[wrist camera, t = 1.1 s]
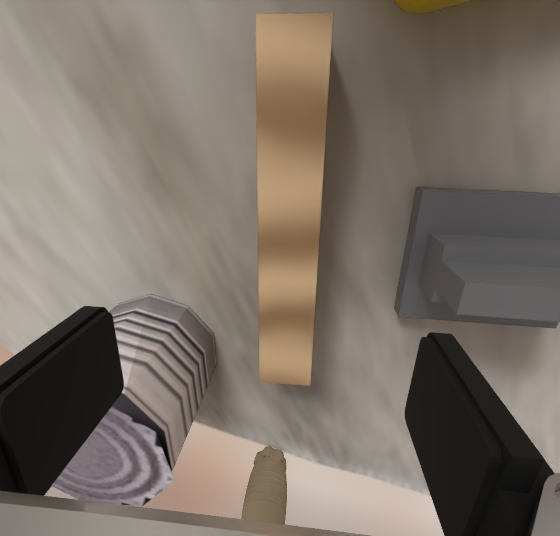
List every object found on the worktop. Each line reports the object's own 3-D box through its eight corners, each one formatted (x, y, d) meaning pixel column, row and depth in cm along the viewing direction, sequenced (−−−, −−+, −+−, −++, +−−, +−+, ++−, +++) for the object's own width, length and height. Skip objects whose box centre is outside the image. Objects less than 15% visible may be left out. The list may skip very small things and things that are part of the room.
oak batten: (267, 40, 22) (255, 13, 17) (328, 40, 21) (333, 12, 17) (267, 345, 30) (259, 382, 26) (310, 347, 30) (310, 385, 26)
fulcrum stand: (416, 187, 24) (464, 208, 16) (590, 195, 23) (723, 221, 16) (394, 307, 28) (424, 369, 20) (543, 318, 27) (632, 387, 19)
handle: (305, 468, 36) (301, 680, 22) (249, 473, 37) (211, 678, 23) (295, 436, 34) (284, 642, 20) (236, 442, 35) (188, 642, 21)
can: (241, 338, 30) (201, 455, 19) (183, 410, 34) (122, 542, 23) (133, 269, 28) (19, 353, 17) (85, 353, 32) (-32, 465, 21)
